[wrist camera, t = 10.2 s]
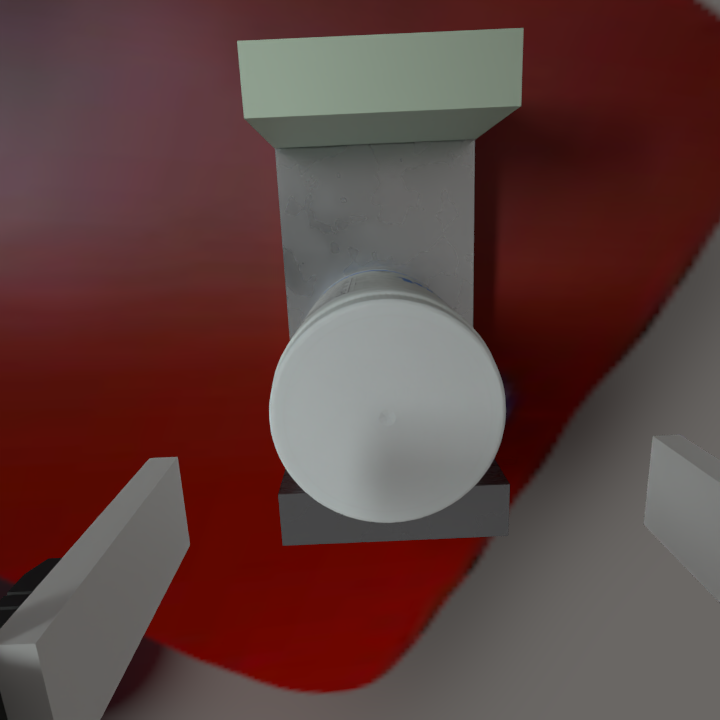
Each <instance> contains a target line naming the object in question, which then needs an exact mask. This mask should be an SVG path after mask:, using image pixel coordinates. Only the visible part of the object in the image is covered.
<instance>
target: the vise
mask: <svg viewBox="0 0 720 720" xmlns="http://www.w3.org/2000/svg"><path fill="white" fill-rule="evenodd" d="M275 154H276V167H277V180H278V193H279V205H280V218H281V231H282V244H283V256H284V269H285V282H286V295H287V308H288V320H289V333H290V340H291V339H292V337H293V335H294V334H295V332H296V331H297V329H298V328H299V326H300V325H301V324H302V322H303V321H304V319H305V318H306V316H307V315H308V313H309V311H310V310H311V309H312V307H313V306H314V305H315V303H316V302H317V300H318V299H319V298H320V297H321V295H322V294H323V293H324V292H325V291H326V290H327V289H328V288H329V287H330V286H332V285H333V284H334V283H336V282H337V281H339V280H340V279H342V278H344V277H346V276H348V275H350V274H353V273H356V272H360V271H365V270H372V269H386V270H392V271H397V272H400V273H403V274H406V275H408V276H410V277H412V278H414V279H416V280H418V281H420V282H421V283H423V284H424V285H426V286H427V287H428V288H429V289H431V290H432V291H433V292H434V293H435V294H436V295H437V296H439V297H440V298H441V299H442V300H443V301H444V302H445V303H447V304H448V305H449V306H450V307H451V308H453V309H454V310H455V311H456V312H457V313H458V314H460V315H461V316H462V317H463V318H464V319H465V320H466V321H467V322H468V323H469V324H470V325H471V326H472V327H473V277H474V177H475V139H466V140H443V141H421V142H399V143H377V144H355V145H333V146H311V147H288V148H275ZM509 494H510V484H509V482H508V481H507V479H506V477H505V476H504V474H503V472H502V471H501V469H500V467H499V466H498V464H497V462H496V461H495V459H494V460H493V462H492V463H491V465H490V467H489V469H488V470H487V471H486V473H485V474H484V476H483V477H482V478H481V479H480V481H479V482H478V483H477V484H476V485H475V486H474V487H473V488H472V489H471V490H470V491H469V492H468V493H466V494H465V495H464V496H463V497H462V498H460V499H459V500H457V501H456V502H454V503H453V504H451V505H450V506H448V507H446V508H444V509H442V510H441V511H438V512H436V513H433V514H431V515H428V516H425V517H422V518H419V519H415V520H410V521H404V522H394V523H378V522H369V521H363V520H358V519H354V518H351V517H347V516H345V515H342V514H340V513H337V512H335V511H333V510H331V509H329V508H327V507H325V506H323V505H322V504H320V503H319V502H317V501H316V500H314V499H313V498H312V497H311V496H310V495H308V494H307V493H306V492H305V491H304V490H303V489H302V488H301V487H300V486H299V485H298V484H297V483H296V482H295V481H294V479H293V478H292V477H291V476H290V474H289V473H288V472H287V470H286V469H285V473H284V476H283V480H282V483H281V487H280V490H279V494H278V498H279V509H280V520H281V531H282V542H283V545H306V544H329V543H352V542H375V541H398V540H421V539H444V538H467V537H490V536H508V527H509Z"/></svg>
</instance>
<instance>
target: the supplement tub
mask: <svg viewBox="0 0 720 720" xmlns="http://www.w3.org/2000/svg"><path fill="white" fill-rule="evenodd" d="M269 419H270V427H271V434H272V438H273V441H274V445H275V448H276V450H277V453H278V455H279V457H280V459H281V461H282V463H283V465H284V467H285V468H286V470H287V472H288V473H289V474H290V476H291V477H292V478H293V479H294V481H295V482H296V483H297V484H298V485H299V486H300V487H301V488H302V489H303V490H304V491H305V492H306V493H307V494H308V495H310V496H311V497H312V498H313V499H314V500H316V501H317V502H319V503H320V504H322V505H323V506H325V507H327V508H329V509H331V510H333V511H335V512H337V513H340V514H342V515H345V516H347V517H351V518H354V519H358V520H363V521H369V522H378V523H394V522H404V521H410V520H415V519H419V518H422V517H425V516H428V515H431V514H433V513H436V512H438V511H441V510H442V509H444V508H446V507H448V506H450V505H451V504H453V503H454V502H456V501H457V500H459V499H460V498H462V497H463V496H464V495H465V494H466V493H468V492H469V491H470V490H471V489H472V488H473V487H474V486H475V485H476V484H477V483H478V482H479V481H480V479H481V478H482V477H483V476H484V474H485V473H486V471H487V470H488V469H489V467H490V465H491V463H492V462H493V460H494V458H495V456H496V453H497V451H498V449H499V446H500V443H501V440H502V436H503V432H504V427H505V419H506V401H505V392H504V386H503V382H502V379H501V376H500V373H499V370H498V368H497V366H496V364H495V361H494V359H493V357H492V355H491V352H490V351H489V349H488V347H487V345H486V344H485V342H484V341H483V339H482V338H481V337H480V335H479V334H478V333H477V332H476V331H475V329H474V328H473V327H472V326H471V325H470V324H469V323H468V322H467V321H466V320H465V319H464V318H463V317H462V316H461V315H460V314H458V313H457V312H456V311H455V310H454V309H453V308H451V307H450V306H449V305H448V304H447V303H445V302H444V301H443V300H442V299H441V298H440V297H439V296H437V295H436V294H435V293H434V292H433V291H432V290H431V289H429V288H428V287H427V286H426V285H424V284H423V283H421V282H420V281H418V280H416V279H414V278H412V277H410V276H408V275H406V274H403V273H400V272H397V271H392V270H386V269H372V270H365V271H360V272H356V273H353V274H350V275H348V276H346V277H344V278H342V279H340V280H339V281H337V282H336V283H334V284H333V285H332V286H330V287H329V288H328V289H327V290H326V291H325V292H324V293H323V294H322V295H321V297H320V298H319V299H318V300H317V302H316V303H315V305H314V306H313V307H312V309H311V310H310V311H309V313H308V315H307V316H306V318H305V319H304V321H303V322H302V324H301V325H300V326H299V328H298V329H297V331H296V332H295V334H294V335H293V337H292V339H291V340H290V342H289V343H288V345H287V347H286V349H285V350H284V352H283V354H282V356H281V358H280V361H279V363H278V366H277V368H276V371H275V375H274V380H273V384H272V391H271V396H270V404H269Z"/></svg>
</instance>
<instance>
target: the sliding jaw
mask: <svg viewBox="0 0 720 720" xmlns="http://www.w3.org/2000/svg"><path fill="white" fill-rule="evenodd" d="M237 45H238V56H239V67H240V78H241V89H242V100H243V111H244V119H245V120H246V121H247V122H248V123H249V124H250V125H251V126H252V127H253V128H254V129H255V130H256V131H257V132H258V133H259V134H260V135H261V136H262V137H264V138H265V139H266V140H267V141H268V142H269V143H270V144H271V145H272V146H273V147H274V148H288V147H311V146H333V145H355V144H377V143H399V142H421V141H443V140H466V139H477V138H478V137H479V136H481V135H482V134H484V133H485V132H486V131H488V130H489V129H490V128H492V127H493V126H494V125H496V124H497V123H499V122H500V121H501V120H503V119H504V118H505V117H507V116H508V115H509V114H511V113H512V112H514V111H515V110H516V109H518V108H519V107H520V106H521V93H522V60H523V28H511V29H489V30H467V31H445V32H423V33H402V34H380V35H358V36H336V37H314V38H292V39H270V40H248V41H237Z"/></svg>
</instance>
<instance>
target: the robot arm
mask: <svg viewBox="0 0 720 720" xmlns="http://www.w3.org/2000/svg"><path fill="white" fill-rule="evenodd" d="M644 526H645V527H646V528H647V529H648V530H649V531H650V532H651V533H652V534H653V535H654V536H655V537H656V538H657V539H658V540H659V541H660V542H661V543H662V544H663V545H664V546H665V547H666V548H667V549H668V550H669V551H670V552H671V553H672V555H673V556H675V558H676V559H677V560H678V561H679V562H680V563H681V564H682V565H683V566H684V567H685V568H686V569H687V570H688V571H689V572H690V573H691V574H692V575H693V576H694V577H695V578H696V579H697V580H698V581H699V582H700V583H701V584H702V585H703V586H704V588H705V589H707V590H708V592H709V593H710V594H711V595H712V596H713V597H714V598H715V599H716V600H717V601H718V602H719V603H720V460H719V459H718V458H716V457H715V456H713V455H712V454H710V453H708V452H707V451H705V450H704V449H702V448H700V447H699V446H698V445H696V444H694V443H693V442H691V441H690V440H688V439H687V438H685V437H683V436H682V435H659V436H653V438H652V447H651V457H650V467H649V476H648V486H647V496H646V505H645V515H644ZM189 546H190V542H189V534H188V527H187V520H186V513H185V506H184V499H183V492H182V485H181V478H180V471H179V464H178V457H167V458H150V459H149V460H148V461H147V462H146V463H145V464H144V465H143V467H142V468H141V469H140V470H139V471H138V472H137V473H136V475H135V476H134V477H133V478H132V479H131V480H130V481H129V483H128V484H127V485H126V486H125V487H124V488H123V489H122V491H121V492H120V493H119V494H118V495H117V496H116V497H115V499H114V500H113V501H112V502H111V503H110V504H109V505H108V506H107V508H106V509H105V510H104V511H103V512H102V513H101V514H100V516H99V517H98V518H97V519H96V520H95V521H94V522H93V524H92V525H91V526H90V527H89V528H88V529H87V530H86V532H85V533H84V534H83V535H82V536H81V537H80V538H79V540H78V541H77V542H76V543H75V544H74V545H73V546H72V548H71V549H70V550H69V551H68V552H67V553H66V554H65V556H64V557H63V558H51V559H47V560H46V561H44V562H43V563H41V564H39V565H38V566H36V567H35V568H33V569H32V570H30V571H29V572H27V573H26V574H24V575H23V576H22V577H21V579H20V580H19V581H18V582H17V583H16V584H15V585H14V586H13V587H12V588H11V589H10V590H9V591H8V594H7V596H4V597H3V598H2V599H1V600H0V720H100V719H101V717H102V715H103V713H104V711H105V709H106V707H107V705H108V704H109V701H110V700H111V698H112V696H113V694H114V692H115V690H116V688H117V686H118V684H119V682H120V680H121V678H122V676H123V674H124V672H125V670H126V668H127V666H128V665H129V662H130V660H131V659H132V657H133V655H134V653H135V651H136V649H137V647H138V645H139V643H140V641H141V639H142V637H143V635H144V633H145V631H146V630H147V628H148V626H149V624H150V622H151V620H152V618H153V616H154V614H155V612H156V610H157V608H158V606H159V604H160V602H161V600H162V598H163V596H164V594H165V593H166V591H167V589H168V587H169V585H170V583H171V581H172V579H173V577H174V575H175V573H176V571H177V569H178V567H179V565H180V563H181V561H182V559H183V557H184V556H185V554H186V552H187V550H188V548H189Z"/></svg>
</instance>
